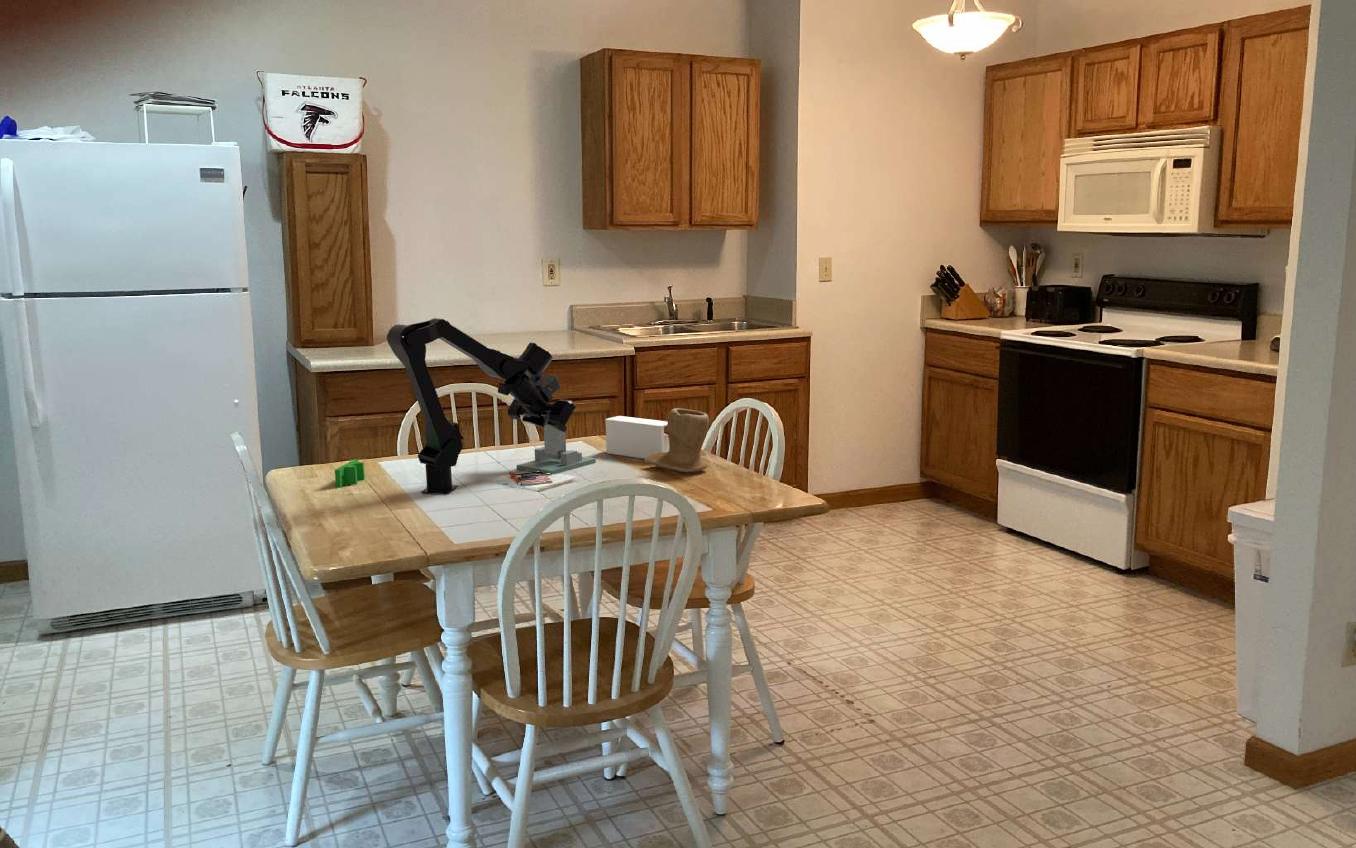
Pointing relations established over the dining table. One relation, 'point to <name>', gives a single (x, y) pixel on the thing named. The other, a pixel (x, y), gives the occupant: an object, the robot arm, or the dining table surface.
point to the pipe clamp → (349, 473)
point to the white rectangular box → (635, 436)
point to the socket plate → (556, 462)
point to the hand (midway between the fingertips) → (558, 429)
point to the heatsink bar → (553, 440)
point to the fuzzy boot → (683, 441)
